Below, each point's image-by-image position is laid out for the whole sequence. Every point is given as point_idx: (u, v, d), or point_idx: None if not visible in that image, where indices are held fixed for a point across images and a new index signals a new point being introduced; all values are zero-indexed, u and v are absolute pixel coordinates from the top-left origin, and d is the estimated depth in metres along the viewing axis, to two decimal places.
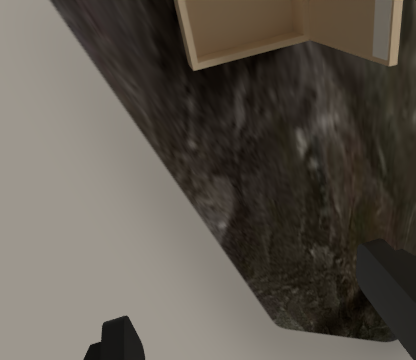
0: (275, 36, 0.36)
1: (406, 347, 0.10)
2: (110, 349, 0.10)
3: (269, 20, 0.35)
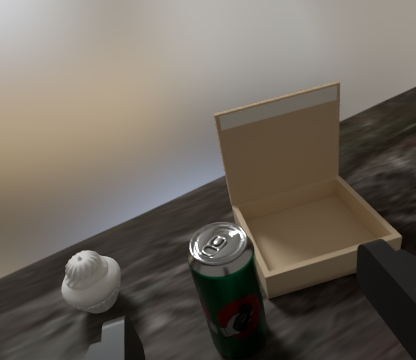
0: (344, 203, 0.43)
1: (406, 347, 0.10)
2: (110, 349, 0.10)
3: (333, 210, 0.42)
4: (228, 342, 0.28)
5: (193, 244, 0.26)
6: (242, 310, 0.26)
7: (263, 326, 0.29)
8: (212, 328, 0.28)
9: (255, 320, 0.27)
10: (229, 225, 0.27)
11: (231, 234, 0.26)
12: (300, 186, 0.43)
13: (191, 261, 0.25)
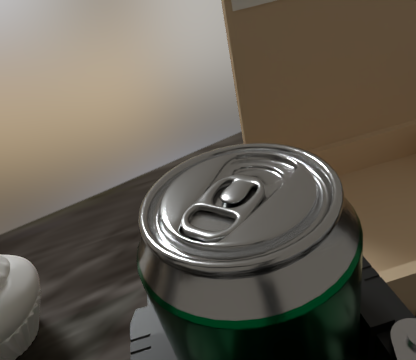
0: None
1: None
2: None
3: None
4: None
5: (155, 206, 0.08)
6: None
7: None
8: None
9: None
10: (267, 151, 0.09)
11: (276, 173, 0.08)
12: (364, 134, 0.25)
13: (145, 262, 0.07)
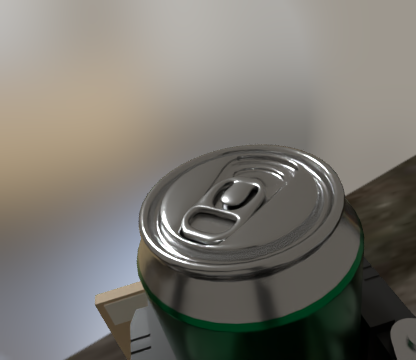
0: None
1: None
2: None
3: None
4: None
5: (155, 208, 0.08)
6: None
7: None
8: None
9: None
10: (267, 152, 0.09)
11: (276, 174, 0.08)
12: None
13: (145, 264, 0.07)
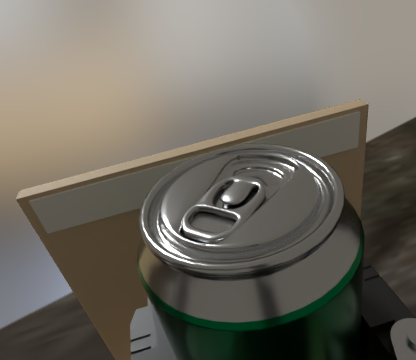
0: None
1: None
2: None
3: None
4: None
5: (155, 207, 0.08)
6: None
7: None
8: None
9: None
10: (268, 151, 0.09)
11: (276, 173, 0.08)
12: None
13: (145, 263, 0.07)
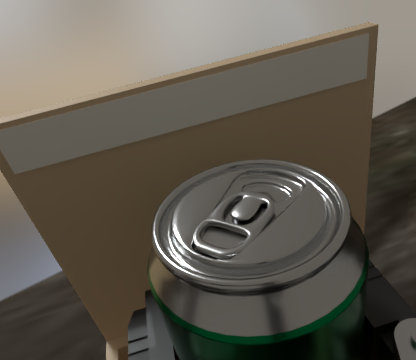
0: None
1: None
2: (155, 313, 0.10)
3: None
4: None
5: (166, 220, 0.08)
6: None
7: None
8: None
9: None
10: (275, 167, 0.09)
11: (284, 189, 0.08)
12: None
13: (157, 275, 0.07)
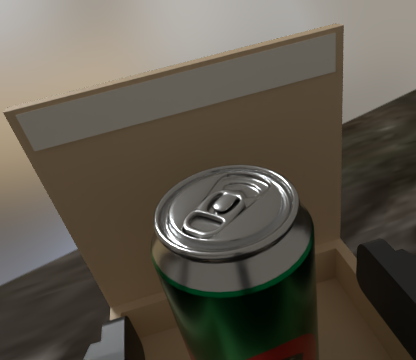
0: (353, 302, 0.20)
1: (406, 347, 0.10)
2: (110, 349, 0.10)
3: (330, 319, 0.19)
4: None
5: (165, 211, 0.11)
6: None
7: None
8: None
9: None
10: (250, 171, 0.12)
11: (255, 188, 0.11)
12: None
13: (157, 251, 0.10)
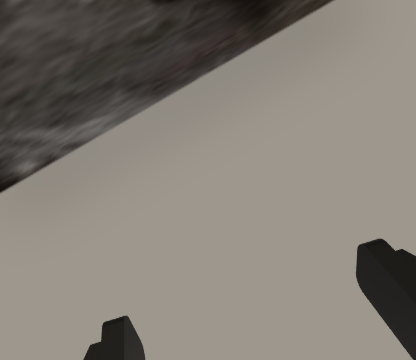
0: None
1: (406, 347, 0.10)
2: (110, 349, 0.10)
3: None
4: None
5: None
6: None
7: None
8: None
9: None
10: None
11: None
12: None
13: None
